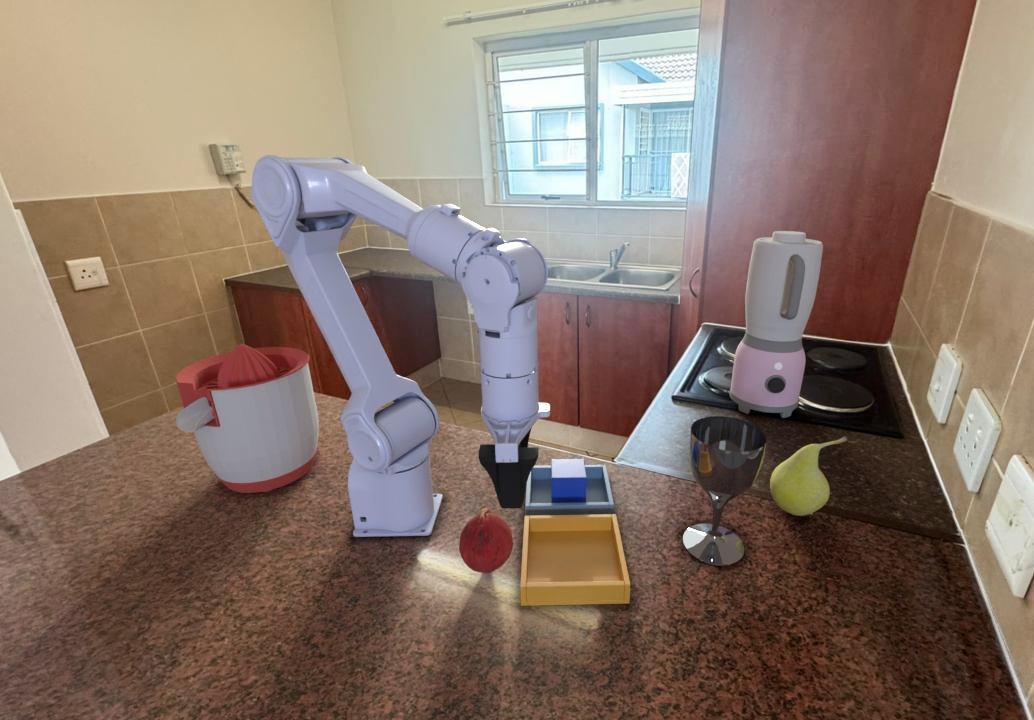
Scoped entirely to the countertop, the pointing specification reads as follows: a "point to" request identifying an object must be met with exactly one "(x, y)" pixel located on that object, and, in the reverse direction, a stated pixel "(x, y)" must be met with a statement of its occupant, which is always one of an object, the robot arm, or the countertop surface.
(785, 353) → the blender
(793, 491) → the fruit
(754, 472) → the wine glass
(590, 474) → the gray tray
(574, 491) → the blue block
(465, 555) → the onion
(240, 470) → the citrus juicer
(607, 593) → the ochre tray
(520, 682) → the countertop surface
